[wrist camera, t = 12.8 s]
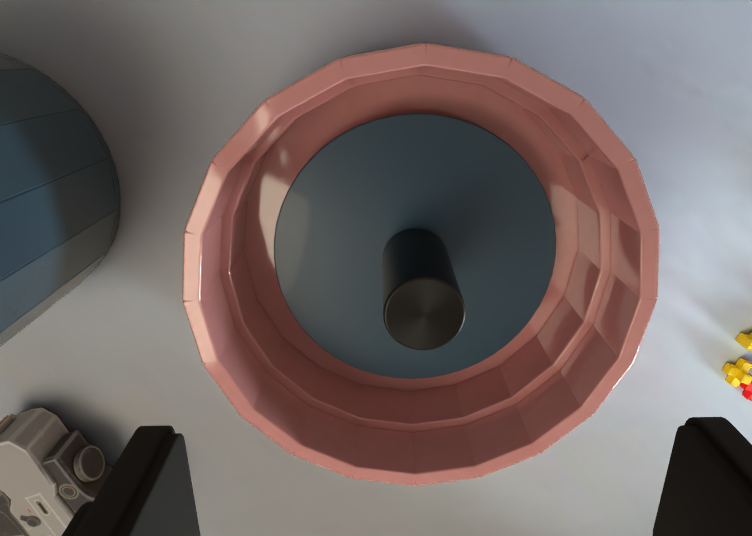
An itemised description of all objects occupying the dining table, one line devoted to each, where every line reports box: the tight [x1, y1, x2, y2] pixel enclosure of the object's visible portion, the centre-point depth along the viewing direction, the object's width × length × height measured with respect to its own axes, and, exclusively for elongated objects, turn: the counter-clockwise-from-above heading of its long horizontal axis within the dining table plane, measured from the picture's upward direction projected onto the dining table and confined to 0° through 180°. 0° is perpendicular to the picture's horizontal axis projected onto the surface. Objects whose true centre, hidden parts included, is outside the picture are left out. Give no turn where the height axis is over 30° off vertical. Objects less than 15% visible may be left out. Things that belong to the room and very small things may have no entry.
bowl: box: [182, 43, 659, 486], centre depth 21 cm, size 16×16×6 cm
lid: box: [274, 112, 556, 379], centre depth 20 cm, size 11×11×6 cm
